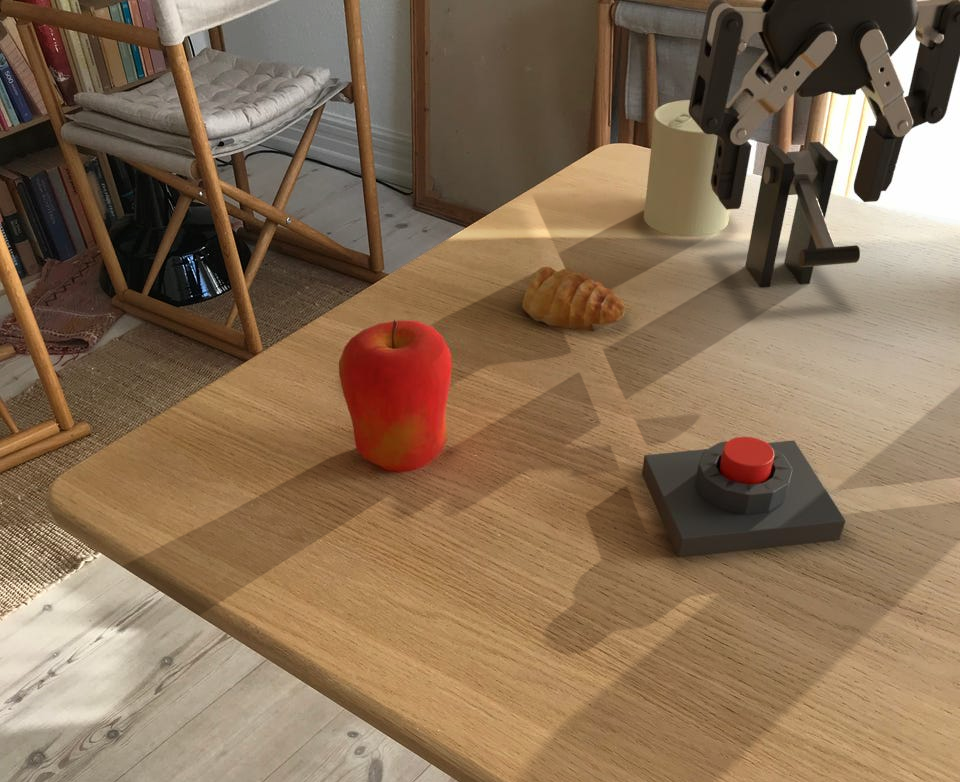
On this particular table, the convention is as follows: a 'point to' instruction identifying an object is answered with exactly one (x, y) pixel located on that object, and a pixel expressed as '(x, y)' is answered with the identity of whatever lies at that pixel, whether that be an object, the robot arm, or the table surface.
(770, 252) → the bracket
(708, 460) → the button box
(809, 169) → the lever
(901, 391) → the table surface
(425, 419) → the apple
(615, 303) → the pastry
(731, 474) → the button
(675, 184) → the can
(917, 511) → the table surface
